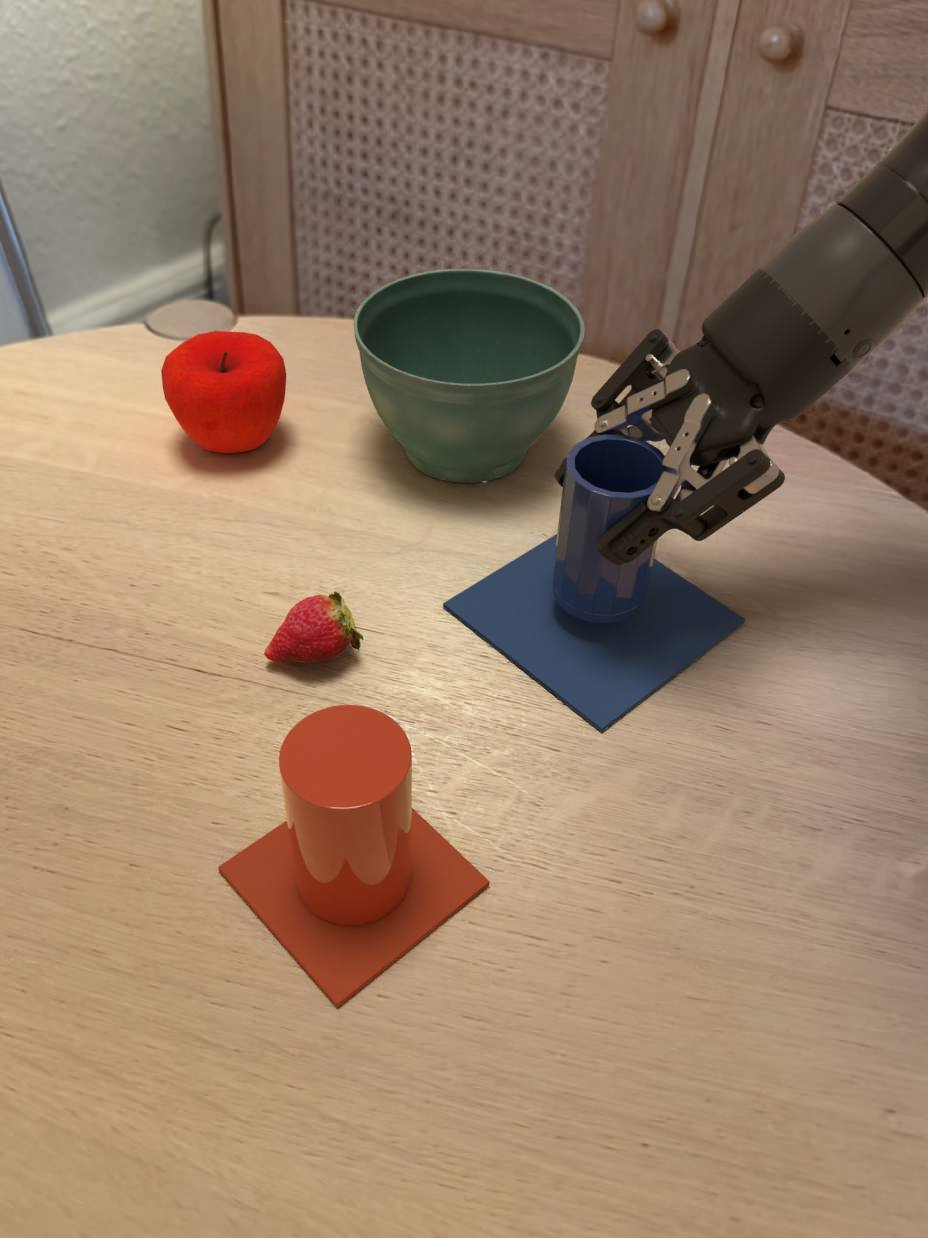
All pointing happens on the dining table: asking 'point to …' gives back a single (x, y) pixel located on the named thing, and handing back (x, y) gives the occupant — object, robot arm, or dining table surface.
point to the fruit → (315, 631)
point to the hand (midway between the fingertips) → (585, 519)
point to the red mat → (362, 950)
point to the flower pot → (467, 367)
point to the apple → (225, 389)
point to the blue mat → (592, 634)
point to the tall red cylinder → (349, 812)
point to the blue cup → (602, 527)
